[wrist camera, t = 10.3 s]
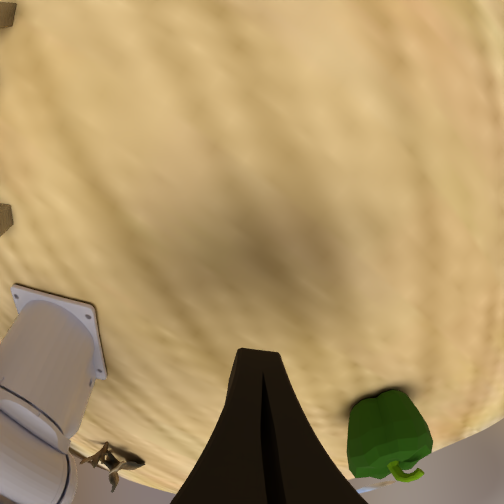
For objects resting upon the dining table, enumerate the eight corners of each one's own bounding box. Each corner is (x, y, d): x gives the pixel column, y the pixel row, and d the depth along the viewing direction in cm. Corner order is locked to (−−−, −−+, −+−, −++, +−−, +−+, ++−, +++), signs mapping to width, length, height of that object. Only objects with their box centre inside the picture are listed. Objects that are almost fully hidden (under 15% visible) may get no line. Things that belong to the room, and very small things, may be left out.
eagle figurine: (76, 444, 36) (110, 476, 39) (80, 478, 30) (118, 507, 33) (116, 426, 39) (147, 459, 42) (125, 459, 33) (159, 490, 36)
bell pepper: (348, 428, 32) (360, 504, 24) (331, 399, 28) (346, 493, 20) (416, 404, 30) (438, 479, 22) (413, 370, 26) (444, 460, 18)
